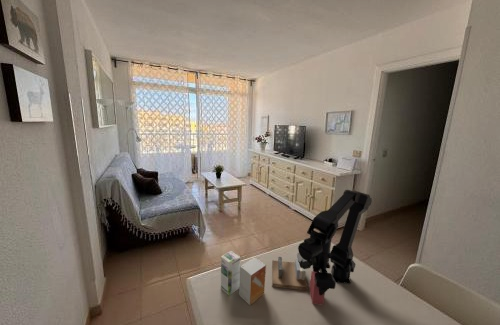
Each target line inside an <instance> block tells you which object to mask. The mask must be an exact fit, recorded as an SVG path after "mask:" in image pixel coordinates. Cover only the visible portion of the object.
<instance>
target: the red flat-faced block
mask: <svg viewBox="0 0 500 325" xmlns="http://www.w3.org/2000/svg"><path fill="white" fill-rule="evenodd" d="M315 273H317V272H313V270H312V271H311V273H310V283H309V291H308V292H309V296H310V299H311V304H313V305H321V306H323V305H324V301H325V295H326V294H325V293H326V292H325V293H324V294H323V295H319V289H318V287H317V286H316V284H315V280H314V279H315V277H314V276H315Z"/></svg>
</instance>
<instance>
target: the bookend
mask: <svg viewBox="0 0 500 325" xmlns="http://www.w3.org/2000/svg"><path fill="white" fill-rule="evenodd" d="M277 258H278V259H277V261H278V278H279V279H282V271H283V268H282V261H283V257H282V256H278V257H277Z"/></svg>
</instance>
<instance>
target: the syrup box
mask: <svg viewBox="0 0 500 325" xmlns="http://www.w3.org/2000/svg"><path fill="white" fill-rule="evenodd" d="M240 266H241V256H240V255H238V254H237V253H235V252H234V251H232V250H230V251H228V252H226V253H224V254H223V255H221V256H220V289H221V290H222V291H223V292H224V293H226V294H227V295H228V296H229V297H230V296H231V295H232V294H234V293H235V292H236V291H237V290H239V284H240Z"/></svg>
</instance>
